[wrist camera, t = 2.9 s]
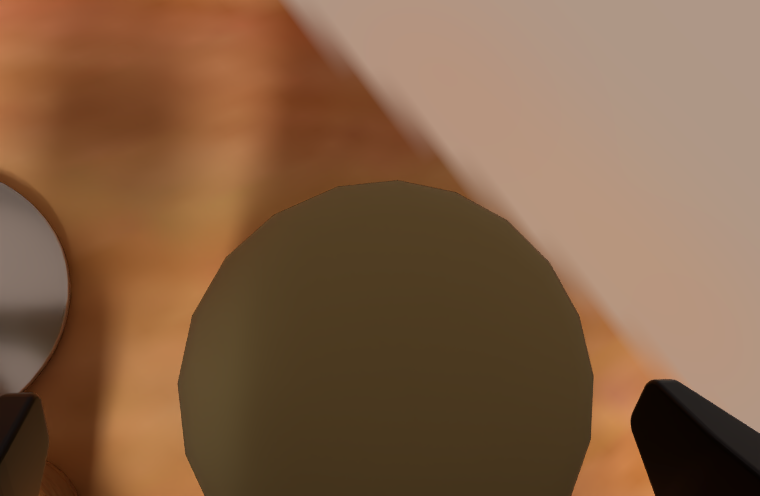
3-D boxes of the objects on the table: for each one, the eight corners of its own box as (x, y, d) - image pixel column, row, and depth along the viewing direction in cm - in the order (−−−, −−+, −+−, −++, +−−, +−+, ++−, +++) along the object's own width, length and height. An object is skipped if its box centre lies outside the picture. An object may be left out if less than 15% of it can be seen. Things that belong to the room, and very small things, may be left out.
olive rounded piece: (338, 239, 18) (465, 20, 8) (464, 412, 18) (781, 430, 7) (151, 366, 16) (-17, 308, 6) (286, 561, 16) (367, 875, 5)
